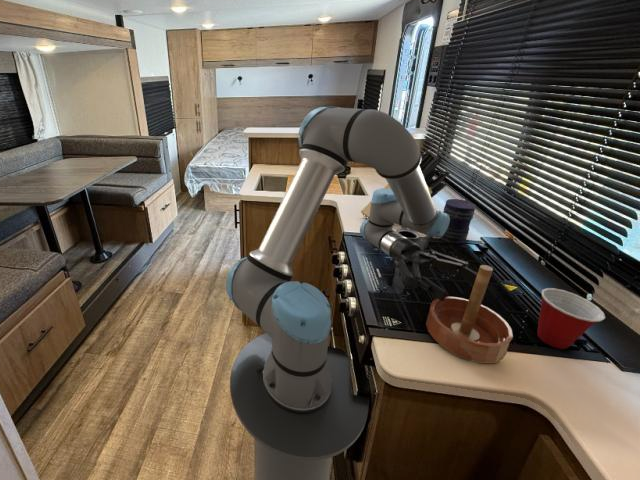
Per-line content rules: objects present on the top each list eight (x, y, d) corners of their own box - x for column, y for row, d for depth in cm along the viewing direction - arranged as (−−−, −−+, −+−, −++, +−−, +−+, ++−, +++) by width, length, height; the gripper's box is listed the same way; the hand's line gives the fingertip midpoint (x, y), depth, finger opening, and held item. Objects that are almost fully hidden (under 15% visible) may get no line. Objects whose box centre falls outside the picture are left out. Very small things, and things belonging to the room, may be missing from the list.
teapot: (437, 261, 109) (443, 236, 105) (391, 258, 112) (395, 234, 108) (418, 236, 126) (423, 214, 123) (378, 234, 129) (382, 212, 125)
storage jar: (450, 244, 120) (460, 209, 114) (431, 233, 129) (439, 200, 123) (472, 241, 122) (482, 207, 116) (452, 230, 130) (460, 197, 125)
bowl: (434, 355, 73) (440, 336, 71) (419, 308, 88) (423, 292, 85) (518, 373, 68) (527, 353, 66) (488, 320, 83) (494, 303, 81)
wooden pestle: (453, 341, 76) (476, 273, 68) (446, 323, 81) (466, 258, 73) (482, 346, 74) (508, 277, 66) (473, 328, 79) (496, 262, 72)
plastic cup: (592, 366, 69) (616, 325, 65) (529, 346, 75) (547, 307, 70) (576, 334, 78) (596, 296, 73) (521, 318, 83) (536, 282, 79)
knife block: (441, 218, 142) (457, 152, 130) (374, 227, 135) (385, 158, 123) (422, 208, 152) (436, 147, 140) (359, 217, 145) (368, 152, 133)
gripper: (429, 252, 99) (498, 292, 80) (364, 266, 92) (422, 314, 74) (434, 231, 96) (506, 268, 77) (367, 245, 89) (428, 288, 71)
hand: (465, 290), depth 75 cm, fingers open, 13 cm apart
